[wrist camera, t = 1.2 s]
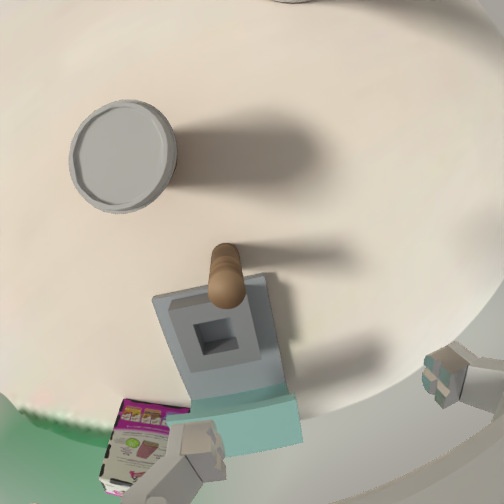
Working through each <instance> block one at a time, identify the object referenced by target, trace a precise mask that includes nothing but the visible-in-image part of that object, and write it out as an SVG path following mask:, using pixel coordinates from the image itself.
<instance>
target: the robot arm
mask: <svg viewBox="0 0 504 504" xmlns="http://www.w3.org/2000/svg"><path fill="white" fill-rule="evenodd" d="M273 1H279V2H290V3H295V2H305V1H310V0H273ZM424 365H425V366H426V368H425V370H424V371H423V373H422V382H423V386H424V388H425V390H426V391H427V392H428V393H429V394H433V395H435V401H436V402H437V403H438V404H439V405H440V406H441V407H442V409H444V408H446V407H448V406H450V405H452V404H454V403H456V402H457V401H459V400H460V402H463V403H465V404H468V405H471V406H474V407H476V408H479V409H482V410H485V411H488V412H491V413H493V414H494V417H493V419H492V421H491V423H490V424H489V425H488V426H486V427H485V428H484V429H482V430H481V431H479V432H478V433H476V434H475V435H473V436H472V437H470V438H469V439H468V440H466V441H464V442H463V443H461V444H460V445H458V446H457V447H455V448H453V449H452V450H450V451H448V452H447V453H445V454H443V455H442V456H440V457H438V458H436V459H434V460H433V461H431V462H429V463H427V464H425V465H423V466H421V467H419V468H417V469H415V470H413V471H411V472H409V473H407V474H405V475H403V476H401V477H399V478H397V479H395V480H392V481H390V482H388V483H385V484H383V485H380V486H378V487H375V488H373V489H370V490H368V491H365V492H363V493H360V494H357V495H354V496H351V497H348V498H345V499H343V500H339V501H336V502H333V503H330V504H504V360H497V359H491V358H485V357H482V358H478V357H477V356H476V355H474V354H473V353H472V352H471V351H469V350H468V349H467V348H465V347H464V346H463V345H461V344H460V343H459V342H456V341H454V342H452V343H450V344H448V345H446V346H445V347H443V348H441V349H439V350H437V351H435V352H433V353H430V354H428V355H426V357H425V359H424ZM224 458H225V448H224V443H223V440H222V437H221V435H220V434H219V433H217V426H216V424H215V422H214V420H205V421H196V422H187V423H179V424H172V425H171V427H170V432H169V438H168V444H167V450H166V456H165V457H161V458H160V459H159V460H158V461H157V462H156V463H155V464H154V465H153V466H152V467H151V468H150V469H149V470H148V471H147V472H146V473H145V474H144V475H143V476H142V477H141V478H140V479H138V480H137V481H136V482H135V483H134V484H133V485H132V486H131V487H130V488H129V489H128V490H127V491H126V492H125V493H124V494H123V495H122V499H121V504H190V503H191V502H192V500H193V499H194V497H195V496H196V494H197V493H198V491H199V489H200V488H201V486H202V485H203V483H204V482H213V481H220V480H226V466H225V464H224V462H223V459H224ZM32 504H38V503H32Z"/></svg>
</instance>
